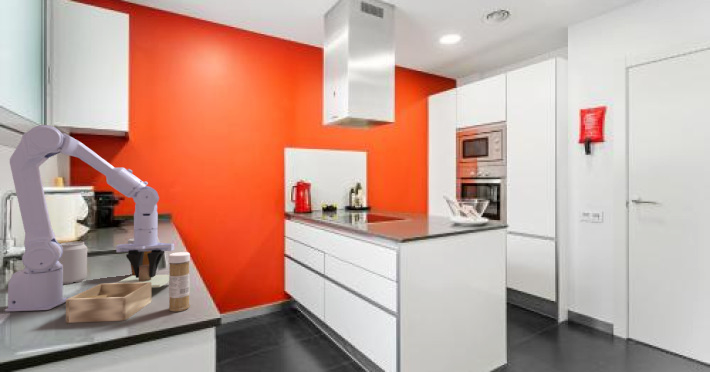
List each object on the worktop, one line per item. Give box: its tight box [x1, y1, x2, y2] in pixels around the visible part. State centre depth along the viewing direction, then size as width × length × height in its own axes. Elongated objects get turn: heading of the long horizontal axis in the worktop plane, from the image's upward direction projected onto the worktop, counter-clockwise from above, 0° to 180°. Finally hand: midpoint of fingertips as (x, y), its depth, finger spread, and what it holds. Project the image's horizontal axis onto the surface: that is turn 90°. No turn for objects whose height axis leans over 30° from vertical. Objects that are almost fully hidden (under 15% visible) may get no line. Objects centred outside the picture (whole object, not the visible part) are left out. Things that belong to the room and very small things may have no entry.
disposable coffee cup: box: [126, 237, 161, 276], centre depth 112 cm, size 10×10×12 cm
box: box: [65, 282, 152, 324], centre depth 79 cm, size 12×12×5 cm
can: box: [58, 241, 88, 285], centre depth 104 cm, size 8×8×12 cm
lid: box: [115, 265, 169, 288], centre depth 95 cm, size 13×13×5 cm
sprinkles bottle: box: [168, 251, 191, 313], centre depth 81 cm, size 5×5×14 cm
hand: (145, 276), depth 95 cm, fingers closed on lid, 3 cm apart
